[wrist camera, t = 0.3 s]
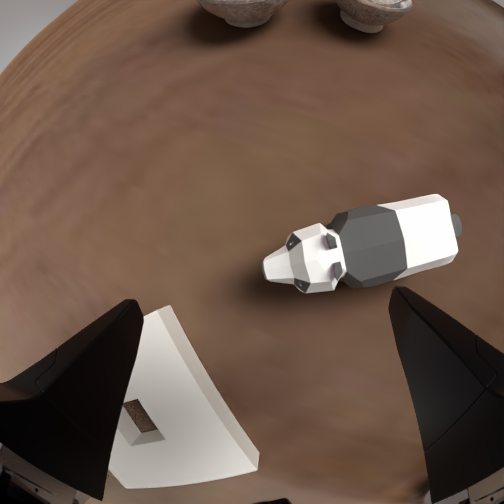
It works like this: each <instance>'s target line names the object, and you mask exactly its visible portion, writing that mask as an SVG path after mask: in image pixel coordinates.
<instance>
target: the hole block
mask: <svg viewBox="0 0 504 504" xmlns="http://www.w3.org/2000/svg"><path fill="white" fill-rule="evenodd" d="M135 399H138V400H139V401H140V403H141V405H142V406H143V408H144V409H145V411H146V412H147V414H148V415H149V417H150V418H151V420H152V421H153V423H154V424H155V425H156V427H157V428H158V429H157V430H153V431H148V432H144V433H141V432H140V430H139V429H138V427H137V426H136V424H135V423H134V422H133V420H132V419H131V417H130V416H129V414H128V413H127V411H126V409H125V408H124V406H122V410H121V414H120V418H119V422H118V426H117V430H116V434H115V439H114V443H113V448H112V452H111V457H110V462H109V467H108V469H109V470H110V471H111V472H112V474H113V475H114V476H115V477H116V478H117V479H118V481H119V482H120V483H121V484H122V485H123V486H124V487H125V488H126V489H133V488H156V487H168V486H178V485H186V484H194V483H200V482H206V481H212V480H218V479H223V478H227V477H232V476H237V475H241V474H245V473H249V472H253V471H257V469H258V461H259V452H258V450H257V449H256V447H255V446H254V445H253V443H252V442H251V440H250V439H249V438H248V436H247V435H246V433H245V432H244V430H243V429H242V427H241V426H240V424H239V423H238V421H237V420H236V418H235V417H234V415H233V414H232V412H231V411H230V409H229V408H228V406H227V405H226V403H225V401H224V400H223V398H222V397H221V395H220V393H219V392H218V390H217V389H216V387H215V385H214V384H213V382H212V380H211V379H210V377H209V375H208V374H207V372H206V370H205V369H204V367H203V365H202V363H201V362H200V360H199V358H198V356H197V355H196V353H195V351H194V349H193V347H192V346H191V344H190V342H189V340H188V338H187V336H186V335H185V333H184V331H183V329H182V327H181V325H180V323H179V321H178V319H177V317H176V315H175V313H174V311H173V309H172V307H171V305H168V306H166V307H163V308H161V309H158V310H156V311H154V312H152V313H150V314H148V315H146V316H144V324H143V329H142V333H141V338H140V343H139V348H138V353H137V357H136V361H135V364H134V368H133V371H132V374H131V378H130V381H129V385H128V388H127V392H126V395H125V399H124V403H125V402H128V401H131V400H135Z"/></svg>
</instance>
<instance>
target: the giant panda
mask: <svg viewBox="0 0 504 504" xmlns="http://www.w3.org/2000/svg"><path fill="white" fill-rule="evenodd" d="M461 232H462V223H461V221H460V219H459V217H458V215H455V214H450V209H449V205H448V201H447V200H446V199H444V198H443V197H441V196H440V195H438V194H432V195H427V196H422V197H418V198H413V199H408V200H404V201H399V202H393V203H387V204H380V205H374V206H368V207H362V208H357V209H353V210H349V211H346V212H342V213H338V214H336V216H335V217H334V219H333V221H332V222H331V224H327V225H325V226H323V225H322V224H320V223H318V224H315V225H312V226H309V227H306V228H303V229H300V230H298V231H295V232H292V233H291V234H290V235H289V236H288V237H287V241H286V245H285V246H284V247H282V248H280V249H279V250H277V251H275V252H274V253H272V254H270V255H269V256H267V257H265V258H264V259H263V260H262V271H263V274H264V277H265V279H266V280H267V281H272V282H280V283H288V284H294V285H295V286H296V287H297V288H298V290H299V291H301V292H303V293H314V292H324V291H332V290H334V289H335V287H336V285H337V283H338V281H344V282H345V283H346V284H347V285H348V286H350V287H351V288H352V289H356V288H365V287H374V286H377V285H380V284H383V283H387V282H390V281H393V280H396V279H399V278H402V277H405V276H408V275H411V274H414V273H417V272H420V271H423V270H427V269H431V268H435V267H439V266H442V265H445V264H448V263H450V262H452V260H453V259H454V257H455V256H456V254H457V252H458V247H457V242H456V238H457V237H458V236H459V235H461Z"/></svg>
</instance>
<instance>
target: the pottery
mask: <svg viewBox="0 0 504 504" xmlns="http://www.w3.org/2000/svg"><path fill="white" fill-rule="evenodd" d="M197 1H198V2H199V3H200V5H201V6H202V7H203V8H204V9H206V10H207V11H208V12H210V13H212V14H214V15H216V16H218V17H221V18H224V19H225V21H226V22H227V23H228V24H230V25H233V26H237V27H243V28H247V27H254V26H259V25H261V24H264V23H265V22H267V21H268V20H269V19H270V18H271V15H272V14H274V13H275V12H277V11H278V10H279V9H280V8H282V7H283V6H284V5H285V4H286V3H287V2H288V0H197ZM335 2H336V3H337V5H338V6H339V7H340V8H341V12H340V16H341V18H342V20H343V21H344V22H345V23H346V24H348V25H349V26H351V27H353V28H355V29H357V30H359V31H362V32H367V33H376V32H379V31H381V30H382V28H383V25H386V24H389V23H392V22H394V21H396V20H398V19H400V18H401V17H403V16H404V15H405V14H406V13H408V12H409V10H410V9H411V8H412V1H411V0H335Z"/></svg>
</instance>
